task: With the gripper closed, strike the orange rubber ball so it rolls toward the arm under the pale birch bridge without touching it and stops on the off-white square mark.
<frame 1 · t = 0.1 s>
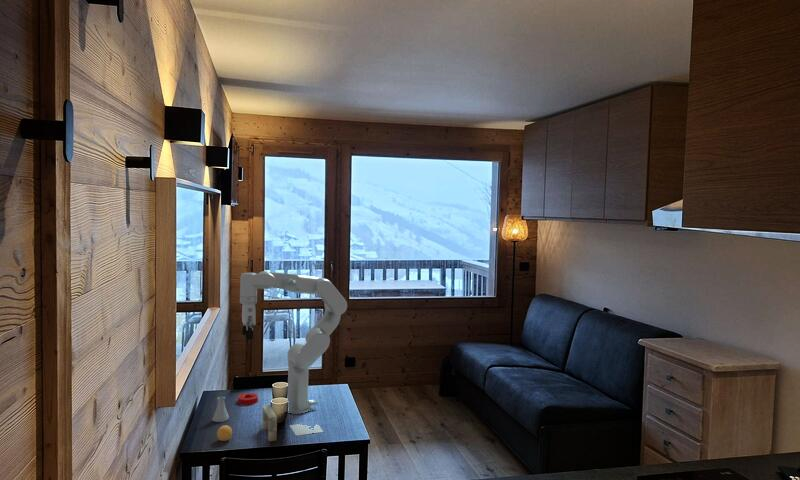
hand: (247, 337, 237), 37 cm above the table, tool pointing down, fingers open, 9 cm apart
ball: (224, 433, 212), on the table
flask: (220, 420, 234), on the table
decorative ornament: (247, 402, 258), on the table
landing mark: (306, 428, 226), on the table
bridge: (269, 434, 219), on the table
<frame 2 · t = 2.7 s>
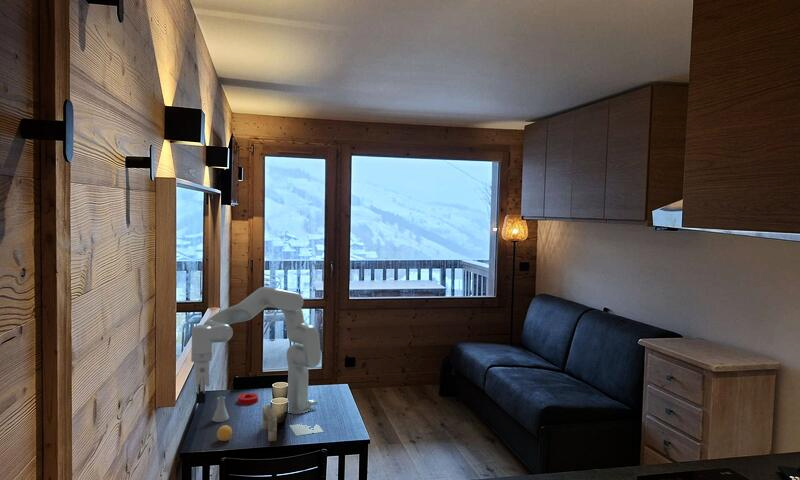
hand: (200, 402, 206), 17 cm above the table, tool pointing down, fingers closed
nothing on the table moved.
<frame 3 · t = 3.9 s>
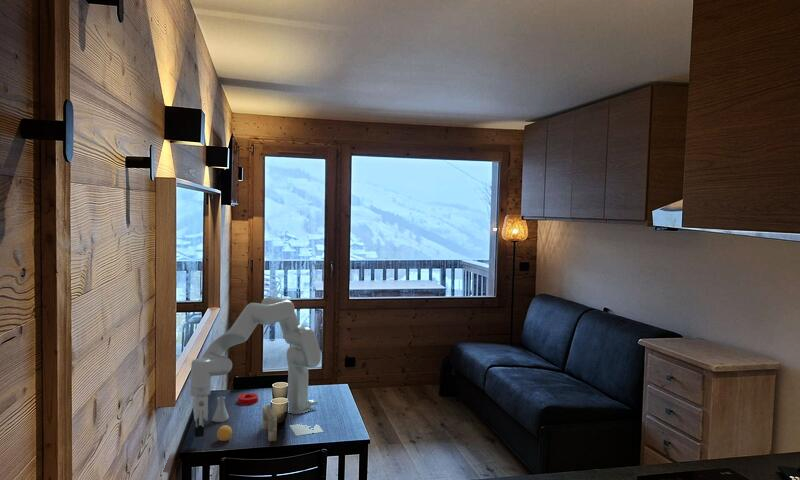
hand: (199, 435, 206), 4 cm above the table, tool pointing down, fingers closed
nothing on the table moved.
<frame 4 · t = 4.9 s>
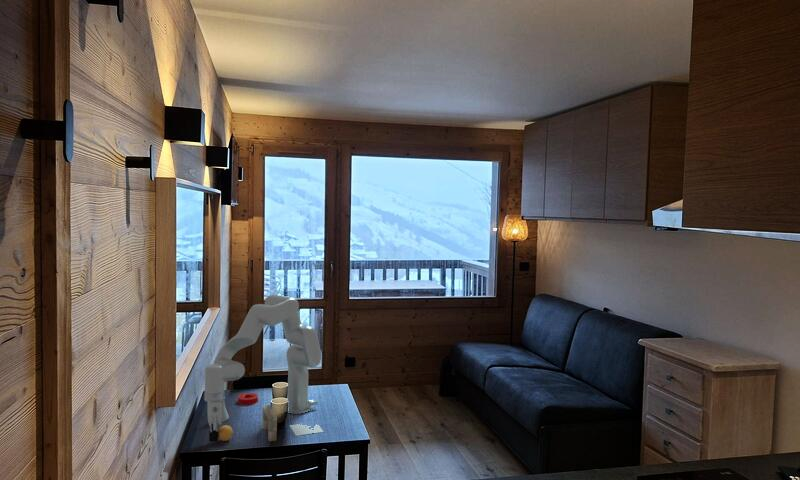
hand: (213, 440, 209), 1 cm above the table, tool pointing down, fingers closed
ball: (225, 433, 212), on the table, touching gripper
everything else where it was.
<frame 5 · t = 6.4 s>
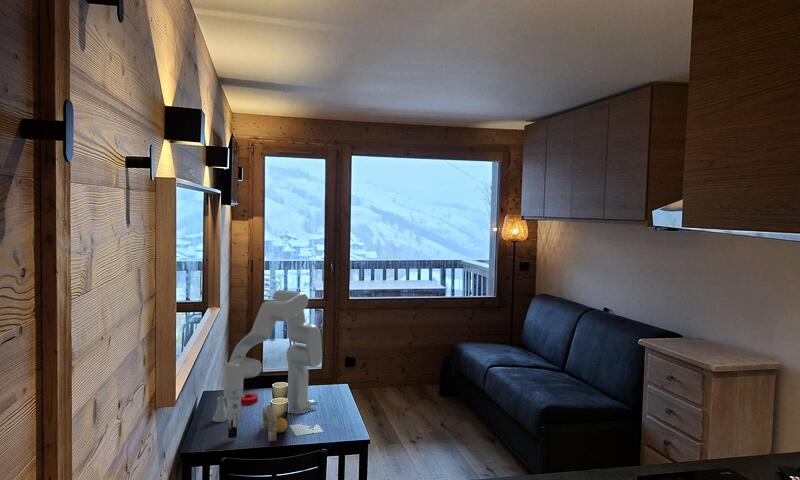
hand: (232, 437, 212), 1 cm above the table, tool pointing down, fingers closed
ball: (280, 425, 222), on the table
everything else where it was.
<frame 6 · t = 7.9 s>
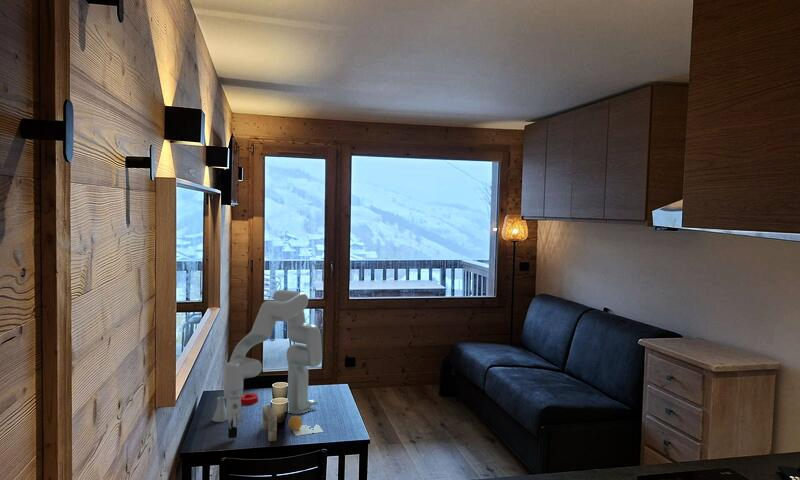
hand: (232, 437, 212), 1 cm above the table, tool pointing down, fingers closed
ball: (295, 422, 225), on the table
everything else where it was.
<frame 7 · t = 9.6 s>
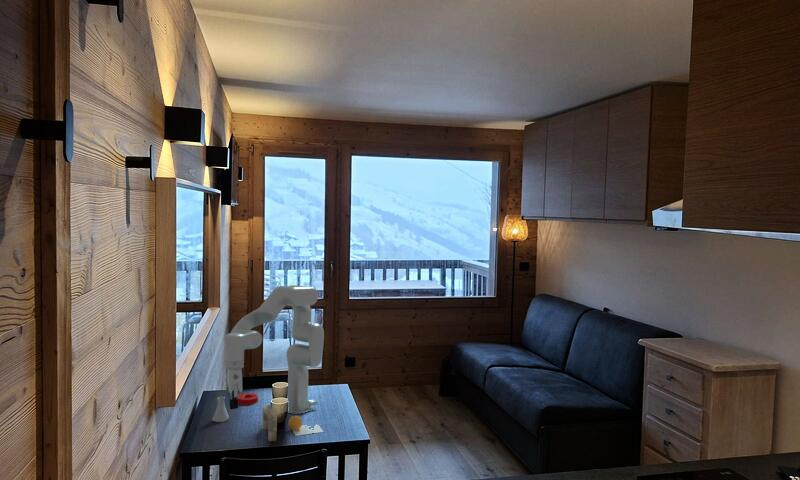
hand: (233, 408, 212), 13 cm above the table, tool pointing down, fingers closed
nothing on the table moved.
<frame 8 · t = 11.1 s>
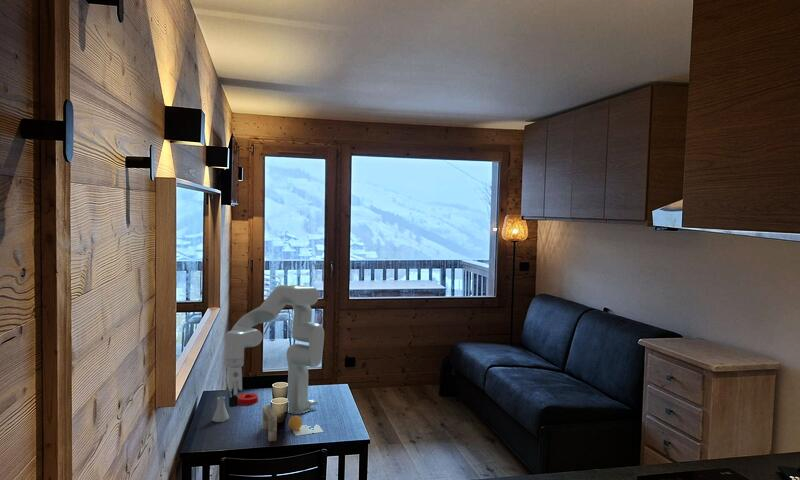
hand: (233, 406, 212), 14 cm above the table, tool pointing down, fingers closed
nothing on the table moved.
at the end: ball 4.8 cm from the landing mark (horizontally); ball never touched bridge; ball at rest at the end (0.0 cm/s) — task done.
